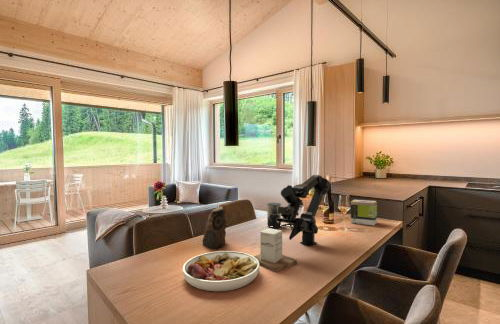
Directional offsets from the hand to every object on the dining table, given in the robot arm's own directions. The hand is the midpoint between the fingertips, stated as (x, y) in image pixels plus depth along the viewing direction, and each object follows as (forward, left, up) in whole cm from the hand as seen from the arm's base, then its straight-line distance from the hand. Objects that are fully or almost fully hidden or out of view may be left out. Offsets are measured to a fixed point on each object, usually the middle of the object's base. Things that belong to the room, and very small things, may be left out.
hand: (281, 237), depth 131 cm
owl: (+12, -37, -10) cm, 40 cm away
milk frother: (-39, -36, -10) cm, 54 cm away
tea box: (-85, -4, -10) cm, 86 cm away
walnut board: (+6, +1, -9) cm, 11 cm away
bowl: (+31, -4, -10) cm, 33 cm away
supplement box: (+7, +1, -8) cm, 11 cm away
